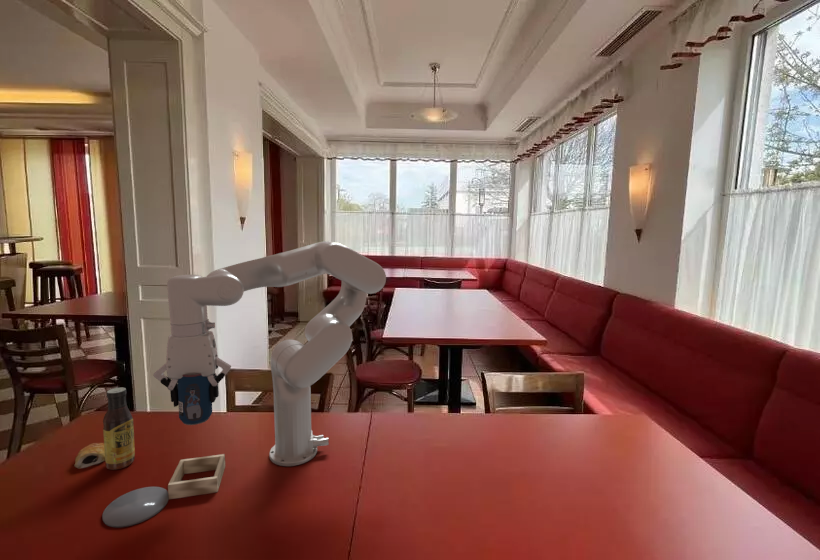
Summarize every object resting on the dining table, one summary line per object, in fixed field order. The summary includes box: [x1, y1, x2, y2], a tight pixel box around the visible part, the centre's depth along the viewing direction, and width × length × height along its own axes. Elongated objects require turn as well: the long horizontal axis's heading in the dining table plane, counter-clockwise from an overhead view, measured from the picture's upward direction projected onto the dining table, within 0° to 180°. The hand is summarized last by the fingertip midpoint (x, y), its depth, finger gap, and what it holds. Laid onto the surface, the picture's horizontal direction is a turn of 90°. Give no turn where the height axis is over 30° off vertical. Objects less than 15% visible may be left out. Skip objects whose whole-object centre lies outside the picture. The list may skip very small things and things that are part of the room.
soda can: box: [177, 374, 213, 426], centre depth 93 cm, size 7×7×12 cm
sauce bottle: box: [102, 386, 136, 471], centre depth 101 cm, size 6×6×20 cm
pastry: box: [73, 442, 105, 469], centre depth 105 cm, size 9×7×4 cm
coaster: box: [101, 486, 170, 529], centre depth 87 cm, size 12×12×1 cm
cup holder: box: [167, 453, 226, 500], centre depth 95 cm, size 10×10×4 cm
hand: (195, 401), depth 93 cm, fingers closed on soda can, 7 cm apart
